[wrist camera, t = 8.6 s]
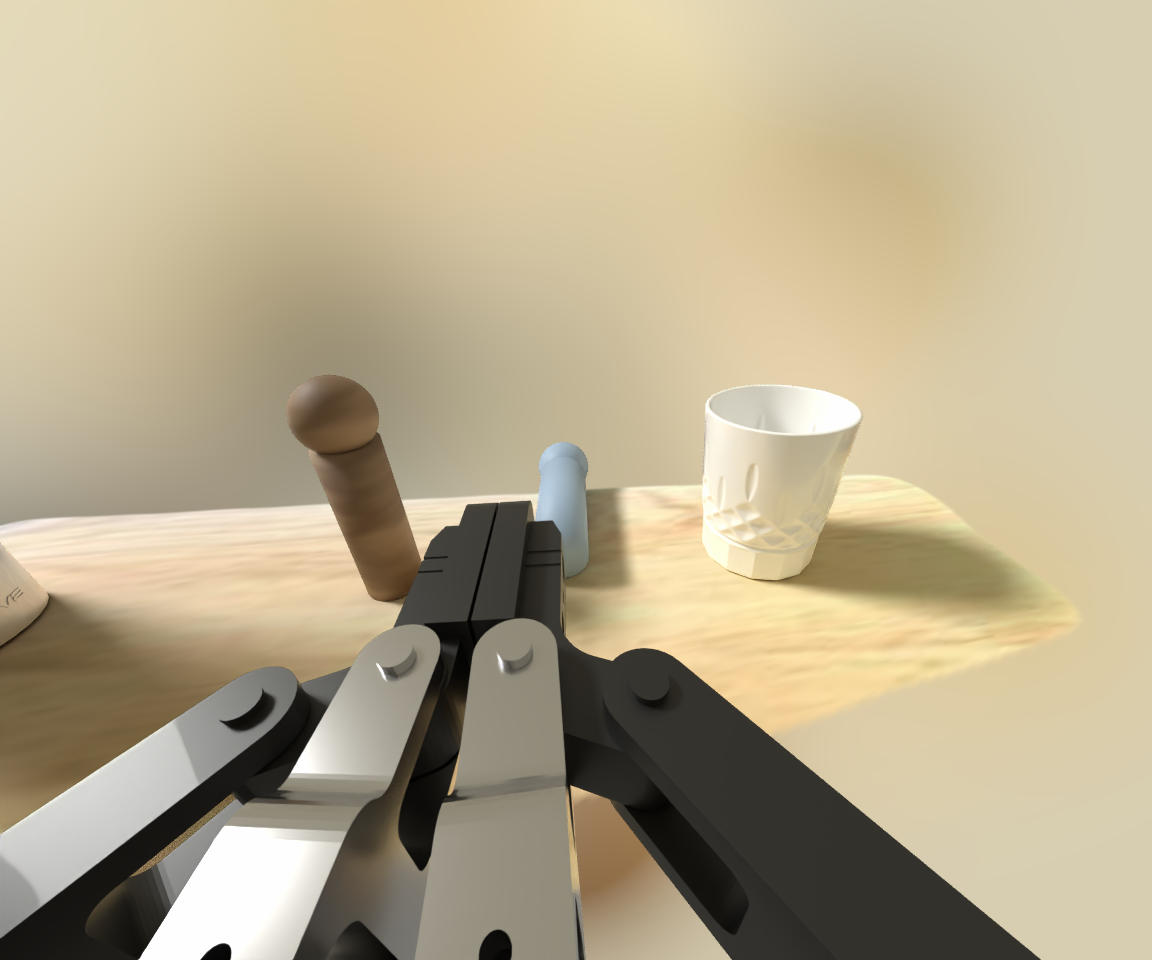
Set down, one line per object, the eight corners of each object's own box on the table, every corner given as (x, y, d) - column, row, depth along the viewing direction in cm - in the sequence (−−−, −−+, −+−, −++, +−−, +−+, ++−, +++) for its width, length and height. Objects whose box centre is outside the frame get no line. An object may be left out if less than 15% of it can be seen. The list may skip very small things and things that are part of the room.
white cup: (847, 558, 27) (896, 409, 22) (760, 608, 24) (793, 449, 19) (749, 502, 33) (770, 376, 28) (670, 536, 30) (677, 402, 25)
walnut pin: (351, 606, 26) (251, 392, 19) (377, 561, 30) (301, 368, 23) (418, 602, 26) (342, 386, 19) (436, 557, 30) (377, 362, 23)
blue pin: (522, 531, 25) (538, 435, 37) (529, 582, 27) (542, 476, 39) (592, 527, 25) (586, 433, 37) (594, 580, 27) (588, 474, 39)
